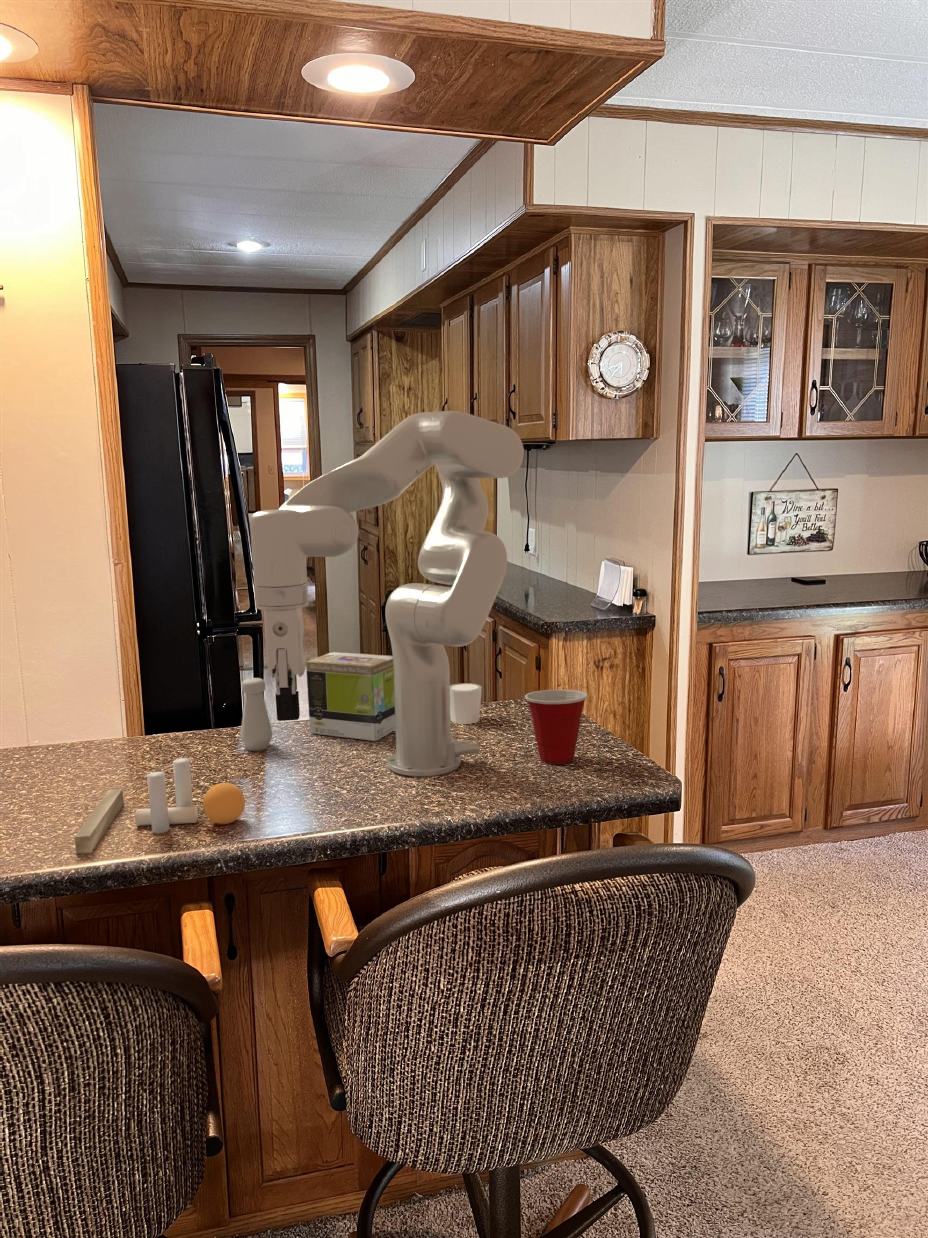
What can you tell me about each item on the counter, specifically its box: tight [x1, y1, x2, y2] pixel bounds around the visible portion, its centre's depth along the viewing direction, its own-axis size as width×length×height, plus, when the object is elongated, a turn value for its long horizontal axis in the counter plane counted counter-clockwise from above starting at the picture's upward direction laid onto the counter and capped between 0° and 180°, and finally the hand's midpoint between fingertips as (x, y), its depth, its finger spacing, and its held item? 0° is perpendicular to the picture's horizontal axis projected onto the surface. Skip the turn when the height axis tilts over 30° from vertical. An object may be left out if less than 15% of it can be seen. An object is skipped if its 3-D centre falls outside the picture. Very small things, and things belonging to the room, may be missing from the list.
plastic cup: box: [524, 689, 589, 765], centre depth 160 cm, size 11×11×12 cm
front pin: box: [134, 805, 199, 827], centre depth 137 cm, size 2×2×8 cm
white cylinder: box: [450, 682, 483, 725], centre depth 184 cm, size 7×7×7 cm
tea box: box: [305, 651, 396, 742], centre depth 178 cm, size 15×10×15 cm
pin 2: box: [172, 757, 194, 807], centre depth 139 cm, size 2×2×8 cm
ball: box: [202, 782, 246, 825], centre depth 136 cm, size 6×6×6 cm
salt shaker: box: [240, 677, 273, 752], centre depth 170 cm, size 6×6×13 cm
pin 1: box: [146, 771, 170, 835], centre depth 133 cm, size 2×2×8 cm
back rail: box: [74, 788, 125, 855], centre depth 136 cm, size 2×18×2 cm, turn 6°
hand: (288, 718), depth 136 cm, fingers closed
